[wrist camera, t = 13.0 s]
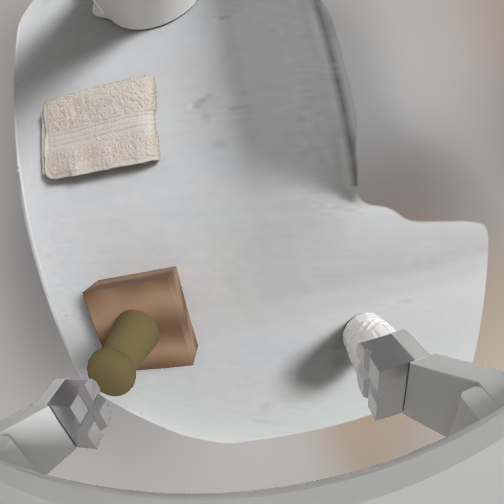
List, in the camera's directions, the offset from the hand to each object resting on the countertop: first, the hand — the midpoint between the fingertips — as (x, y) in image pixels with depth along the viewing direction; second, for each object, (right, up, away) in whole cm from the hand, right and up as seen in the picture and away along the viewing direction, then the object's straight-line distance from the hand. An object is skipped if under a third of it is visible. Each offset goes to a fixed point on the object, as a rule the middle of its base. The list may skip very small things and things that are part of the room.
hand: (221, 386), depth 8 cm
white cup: (+17, -8, +35) cm, 40 cm away
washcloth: (-20, +20, +27) cm, 39 cm away
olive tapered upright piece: (-14, -6, +28) cm, 32 cm away
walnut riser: (-14, -5, +33) cm, 36 cm away
